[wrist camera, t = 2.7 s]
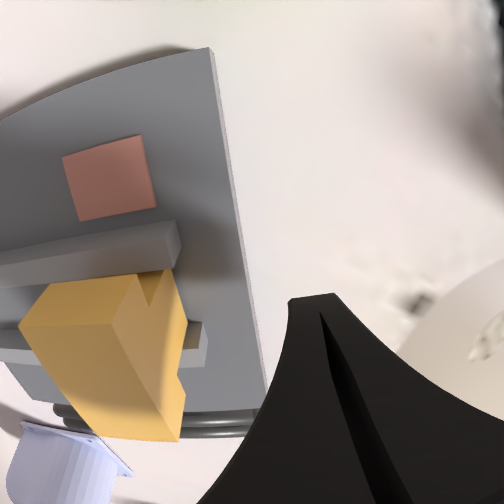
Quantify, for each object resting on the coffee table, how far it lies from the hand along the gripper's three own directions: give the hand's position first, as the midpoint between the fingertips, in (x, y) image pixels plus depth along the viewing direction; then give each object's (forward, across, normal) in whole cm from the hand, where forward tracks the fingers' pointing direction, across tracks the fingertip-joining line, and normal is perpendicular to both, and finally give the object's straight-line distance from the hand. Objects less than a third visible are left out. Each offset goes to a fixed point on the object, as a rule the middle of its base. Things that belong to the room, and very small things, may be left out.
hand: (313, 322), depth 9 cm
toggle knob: (+2, +6, 0) cm, 6 cm away
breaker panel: (+4, +10, +2) cm, 11 cm away
